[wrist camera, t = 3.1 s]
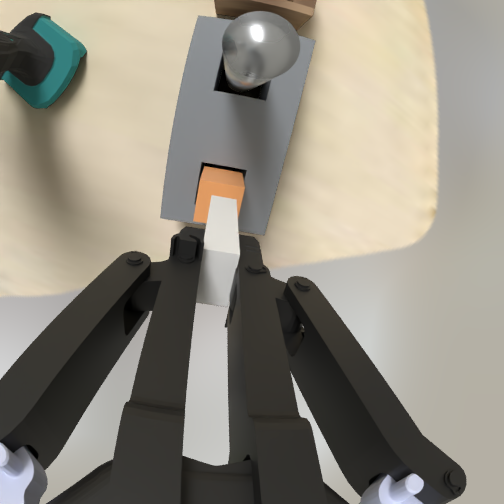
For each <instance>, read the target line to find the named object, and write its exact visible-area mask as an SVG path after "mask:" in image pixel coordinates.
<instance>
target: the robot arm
mask: <svg viewBox="0 0 504 504" xmlns="http://www.w3.org/2000/svg"><path fill="white" fill-rule="evenodd" d="M229 300H230V306H229V310H228V314H227V319H226V324H225V327H227V328H228V401H229V402H228V404H229V442H230V454H229V461H228V464H226V465H220V466H213V465H210V464H206V463H203V462H200V461H197V460H194V459H191V458H188V457H185V456H182V450H183V433H184V419H185V402H186V390H187V379H188V368H189V358H190V349H191V339H192V331H193V322H194V313H195V305H196V303H202V304H209V305H216V306H223V307H228V304H229ZM149 311H153V312H152V315H151V319H150V322H149V326H148V330H147V333H146V337H145V340H144V344H143V348H142V352H141V356H140V360H139V364H138V368H137V373H136V376H135V381H134V385H133V389H132V394H131V398H130V400H129V402H126V403H125V405H124V408H123V412H122V417H121V421H120V426H119V431H118V436H117V441H116V447H115V452H114V458H113V460H111V461H108V462H106V463H104V464H102V465H100V466H99V467H97V468H96V469H95V470H93V471H92V472H91V473H89V474H88V475H86V476H85V477H84V478H82V479H81V480H80V481H78V482H77V483H76V484H74V485H73V486H71V487H70V488H68V489H67V490H66V491H64V492H63V493H61V494H60V495H58V496H57V497H55V498H54V499H53V500H51V501H49V502H48V503H46V504H349V503H348V502H347V501H345V500H344V499H343V498H342V497H341V496H339V495H338V494H337V493H336V492H335V491H334V490H332V489H331V488H330V487H329V486H328V485H327V484H325V483H324V482H323V479H322V474H321V469H320V464H319V460H318V455H317V450H316V445H315V440H314V436H313V431H312V427H311V424H310V422H309V421H308V420H307V419H306V418H302V417H300V415H299V412H298V408H297V402H296V398H295V392H294V387H293V382H292V377H291V373H292V375H293V377H294V378H295V381H296V383H297V385H298V387H299V389H300V391H301V393H302V395H303V397H304V399H305V401H306V403H307V405H308V407H309V409H310V411H311V413H312V415H313V417H314V419H315V421H316V423H317V425H318V427H319V428H320V430H321V432H322V434H323V436H324V438H325V440H326V442H327V444H328V446H329V448H330V450H331V452H332V454H333V456H334V458H335V460H336V462H337V463H338V465H339V467H340V469H341V471H342V473H343V474H344V476H345V478H346V479H347V481H348V482H349V484H350V485H351V486H352V488H353V489H354V490H355V491H356V492H357V493H358V494H359V495H360V496H361V502H360V503H359V504H446V503H448V502H450V501H451V500H454V499H456V498H457V497H459V496H461V494H462V493H463V492H464V490H465V487H466V475H465V473H464V470H463V469H462V468H461V467H460V466H459V465H458V464H457V463H456V462H454V461H453V460H452V459H451V458H450V457H448V456H447V455H446V454H445V453H444V452H442V451H441V450H440V449H439V448H438V447H436V446H435V445H434V444H433V443H432V442H430V441H429V440H428V439H427V438H426V437H424V436H423V435H422V433H421V432H420V431H419V429H418V428H417V426H416V425H415V423H414V422H413V420H412V419H411V417H410V416H409V414H408V413H407V411H406V410H405V409H404V407H403V405H402V404H401V403H400V401H399V400H398V398H397V397H396V395H395V394H394V392H393V391H392V389H391V388H390V387H389V385H388V384H387V382H386V381H385V379H384V378H383V376H382V375H381V374H380V372H379V371H378V369H377V368H376V367H375V365H374V364H373V362H372V361H371V360H370V358H369V357H368V355H367V354H366V353H365V351H364V350H363V348H362V347H361V346H360V344H359V343H358V342H357V340H356V339H355V337H354V336H353V335H352V333H351V332H350V330H349V329H348V328H347V326H346V325H345V324H344V322H343V321H342V320H341V318H340V317H339V315H338V314H337V313H336V311H335V310H334V309H333V307H332V306H331V305H330V303H329V302H328V301H327V299H326V298H325V297H324V295H323V294H322V293H321V291H320V290H319V289H318V287H317V286H316V285H315V284H314V283H313V282H312V281H310V280H308V279H307V278H304V277H299V276H294V277H290V278H289V279H288V281H287V283H285V282H282V281H279V280H277V279H274V278H272V277H271V275H270V271H269V269H268V268H267V267H266V266H265V265H263V260H262V255H261V250H260V245H259V242H258V241H257V240H256V239H255V237H250V236H245V235H239V232H238V216H237V200H236V199H231V198H225V197H220V196H214V195H212V196H211V201H210V207H209V212H208V218H207V224H206V230H205V229H198V228H192V227H185V228H183V229H182V230H181V231H180V233H179V234H176V235H174V236H173V237H172V238H171V248H170V257H169V259H168V260H166V261H162V262H151V260H150V257H149V256H148V255H146V254H144V253H141V252H137V251H131V252H127V253H124V254H122V255H121V256H119V257H118V258H117V259H116V260H115V261H114V262H113V263H112V264H111V265H110V266H108V267H107V268H106V269H105V270H104V271H103V272H102V273H101V274H100V275H99V276H98V277H97V278H96V279H94V280H93V281H92V282H91V283H90V284H89V285H88V286H87V287H86V288H85V289H84V290H83V291H82V292H81V293H80V294H79V295H78V296H77V297H76V298H75V299H74V300H73V301H72V302H71V303H70V304H69V305H68V306H67V307H66V308H65V309H64V310H63V311H62V312H61V313H60V314H59V315H58V316H57V317H56V318H55V319H54V320H53V321H52V322H51V323H50V324H49V325H48V326H47V327H46V328H45V330H44V331H43V332H42V333H41V334H40V335H39V336H38V337H37V338H36V339H35V340H34V341H33V342H32V344H31V345H30V346H29V347H28V348H27V349H26V350H25V351H24V353H23V354H22V355H21V356H20V357H19V358H18V359H17V361H16V362H15V363H14V364H13V365H12V366H11V368H10V369H9V370H8V371H7V372H6V374H5V375H4V376H3V377H2V378H1V380H0V504H39V502H40V498H41V497H42V495H43V494H44V492H45V491H46V488H47V476H46V473H45V471H44V470H46V469H47V468H48V467H49V466H50V464H51V463H52V462H53V461H54V460H55V459H56V458H57V456H58V455H59V453H60V452H61V450H62V449H63V447H64V445H65V444H66V442H67V440H68V439H69V437H70V435H71V433H72V432H73V430H74V429H75V427H76V425H77V424H78V422H79V420H80V419H81V417H82V415H83V413H84V412H85V410H86V409H87V407H88V406H89V404H90V402H91V401H92V399H93V397H94V396H95V394H96V393H97V391H98V390H99V388H100V386H101V385H102V383H103V382H104V380H105V379H106V377H107V375H108V374H109V373H110V371H111V370H112V368H113V367H114V365H115V364H116V362H117V360H118V359H119V358H120V356H121V354H122V353H123V352H124V350H125V348H126V347H127V345H128V344H129V343H130V341H131V340H132V338H133V337H134V335H135V334H136V332H137V331H138V329H139V328H140V326H141V325H142V324H143V322H144V321H145V319H146V318H147V316H148V314H149ZM303 326H304V328H303ZM290 371H291V372H290Z"/></svg>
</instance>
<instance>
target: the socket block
mask: <svg viewBox="0 0 504 504" xmlns="http://www.w3.org/2000/svg"><path fill="white" fill-rule="evenodd" d="M232 21H233V20H228V19H221V18H214V17H206V16H198V18H197V22H196V25H195V29H194V33H193V36H192V40H191V44H190V48H189V52H188V56H187V60H186V64H185V69H184V73H183V77H182V82H181V87H180V91H179V96H178V101H177V106H176V111H175V117H174V122H173V128H172V134H171V140H170V146H169V152H168V159H167V166H166V173H165V181H164V189H163V197H162V206H161V216H160V218H162V219H169V220H175V221H181V222H187V223H194V224H200V225H206V224H207V223H201V222H195V221H193V219H194V213H195V206H196V200H197V194H198V188H199V182H200V178H201V175H202V172H203V169H204V164H205V163H211V164H217V165H222V166H228V167H233V168H239V172H240V173H242V174H243V179H244V185H245V190H244V194H243V199H242V203H241V208H240V212H239V216H238V231H242V232H248V233H254V234H260V235H265V231H266V227H267V224H268V220H269V216H270V212H271V209H272V205H273V201H274V198H275V194H276V190H277V186H278V183H279V179H280V175H281V171H282V167H283V164H284V160H285V156H286V152H287V149H288V145H289V141H290V137H291V133H292V130H293V126H294V122H295V118H296V114H297V110H298V107H299V103H300V99H301V95H302V91H303V87H304V84H305V80H306V76H307V72H308V68H309V64H310V60H311V56H312V52H313V48H314V45H315V40H312V39H309V38H306V37H302V36H299V35H298V36H299V39H300V53H299V56H298V59H297V61H296V62H295V64H294V65H293V66H292V67H291V68H290V69H289V70H288V71H287V72H285V73H283V74H282V75H280V76H277V77H275V78H273V79H271V80H269V81H267V82H265V83H263V84H261V88H260V92H259V96H258V99H255V98H251V97H246V96H241V95H236V94H230V93H225V92H219V91H218V87H219V83H220V78H221V74H222V70H223V66H224V58H223V50H222V39H223V35H224V32H225V30H226V28H227V27H228V25H229V24H230V23H231V22H232Z"/></svg>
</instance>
